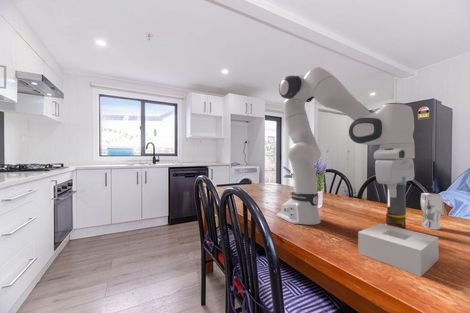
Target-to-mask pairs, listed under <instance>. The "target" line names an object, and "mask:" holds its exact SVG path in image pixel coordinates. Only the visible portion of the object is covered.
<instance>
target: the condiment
mask: <svg viewBox="0 0 470 313" xmlns="http://www.w3.org/2000/svg"><path fill="white" fill-rule="evenodd" d="M385 215H386V216H385V224H386V225H389V226H394V227H398V228H402V229H406V230H407V228H406V226H407V224H406V220H407V219H406V215H395V214H391V213H390V206H389V207H388V206H387V211H386V214H385Z"/></svg>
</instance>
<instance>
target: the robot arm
mask: <svg viewBox="0 0 470 313" xmlns="http://www.w3.org/2000/svg"><path fill="white" fill-rule="evenodd" d="M278 92H279V95H280V97H282V98H284V99H285V100H284V101H283V104H282V105H283V107H282V108H283V110H282V111H283V118H284V122H285V125H286V126H285V127H286V129H287V133H288V134H287V135H288V136H289V138H290V139H291V141H292V142H293V144H292V145H291V146H289V147H288V149H287V158H288V159H289V162H290V164H291V168H292V175H293V191H292V192H290V193H289V195H290V196H291V197H290V199H288V200H287V201H286V202H284V203H283V204H282V205H281V208H280V210H281V211H279V212H277V213H276V216H277V217H278V218H281V219H282V220H285V221H287V222H289V223H290V224H293V225H308V226H312V225H318V224H320V223H321V222H322V220H321V218H320V217H321V216H320V213H319V207H318V204H319V193H318V176H317V174H316V170H315V163H316V162H318V161H319V159H320V158H321V155H322V152H321V149H320V148H319V146H318V143H317V140H316V137H315V135H314V134H313V131H312V129H311V126H310V122H309V118H308V114H307V112H306V111H307V110H306V107H305V104H306V103H310V102H311V101H312V100H313V99H315V101H317V102H318V103H319V104H321V106H324V107H325V108H327V109H328V108H329V109H330V110H331V109H332V110H334V111H338V112H341V113H344V114H345V115H347V116H349V118H350V119H351V120H353V121H352V122H351V124H350V126H349V128H348V136H349V138H350V140H351V141H352V142H354V143H355V144H356V143H357V144H359V145H366V146H375V147H379V148H378V149H377V150H375V151H374V152H373V159H374V160H375V164H374V169H375V178H376V179H375V180H376V181H377V182H376V183H377V184H380V185H381V184H382V185H386V187H387V191H388V190H389V196H390V197H397V196H398V192H397V190H396V186H397V183H400V182H402V177H405V176H406V182H409V181H414V179H415V176H416V174H415V163H414V159H415V158H416V154H415V153H416V152H415V150H416V149H415V140H414V136H413V135H414V132H415V119H414V116H415V115H414V112H413V108H412V106H410V105H409V104H408V103H407V104H406V103H402V102H401V103H400V102H387V103H384V104H382V105H381V106H380V107H378V109H376V110H375V111H373V112H371V111H370V110H369V109H368V108H367V107H366V106H364V105H363V104H362V103H361V102H359V101H358V99H356V97H354V95H353V94H352V93H351V92H350V91H349V90H348V89H347V87H346V86H345V85H344V84H343V83H342V82H341V81H340V80H339V79H338V78H337V77H336V76H335V75H334V74H333V73H331V72H330V71H328V70H327V69H325V68H323V67H319V66H317V67H316V66H315V67H313V68H311V69H310V70H308V72H307V73H306V74H305V75H303V74H302V75H287V76H284V77H283V78H282V79H281V80H280V82H279V85H278ZM406 186H407V183H406V184H405V188H406Z"/></svg>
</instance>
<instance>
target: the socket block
mask: <svg viewBox="0 0 470 313" xmlns="http://www.w3.org/2000/svg"><path fill="white" fill-rule="evenodd" d="M385 224H386V223H385ZM385 224H384V223H377V224H374V225H372V226H369V227H367V228H365V229H362V230H359V231H358V232H357V253H358V254H360V255H363V256H366V257H368V258H371V259H374V260H376V261H379V262H381V263H384V264H386V265H389V266H392V267H395V268H397V269H400V270H402V271H405V272H408V273H410V274H413V275H416V276H418V277H422V276H423V275H424V274H425V273H427V271H428V270H429V269H430V268H431V267H432V266H433V265H435V264H436V263H437V262H438V261H439V236H434V235H430V234H426V233H423V232H418V231H415V230H414V231H413V230H410V229H407V228H406V229H402V228H398V227H394V226H389V225H385Z"/></svg>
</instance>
